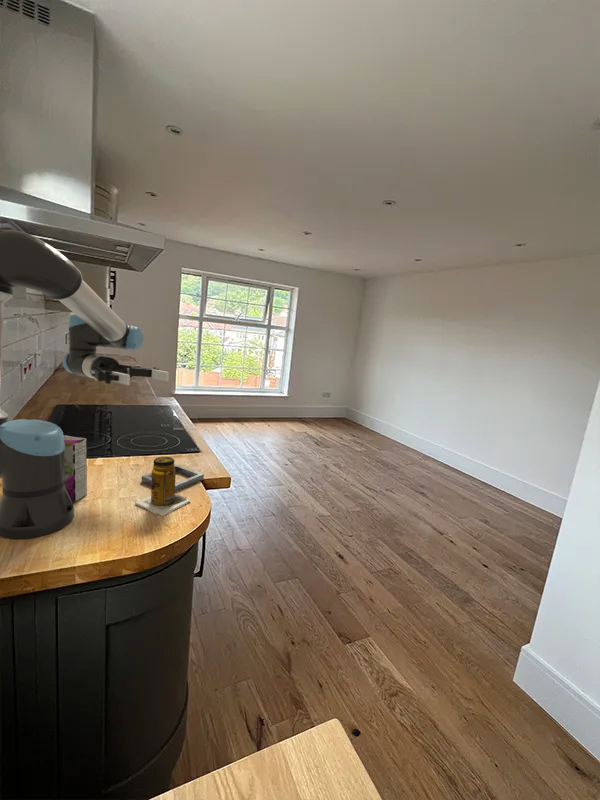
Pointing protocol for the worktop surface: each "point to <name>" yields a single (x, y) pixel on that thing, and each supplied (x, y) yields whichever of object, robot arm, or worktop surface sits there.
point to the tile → (158, 510)
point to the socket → (180, 485)
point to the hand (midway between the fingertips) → (149, 378)
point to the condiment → (163, 483)
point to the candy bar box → (75, 467)
